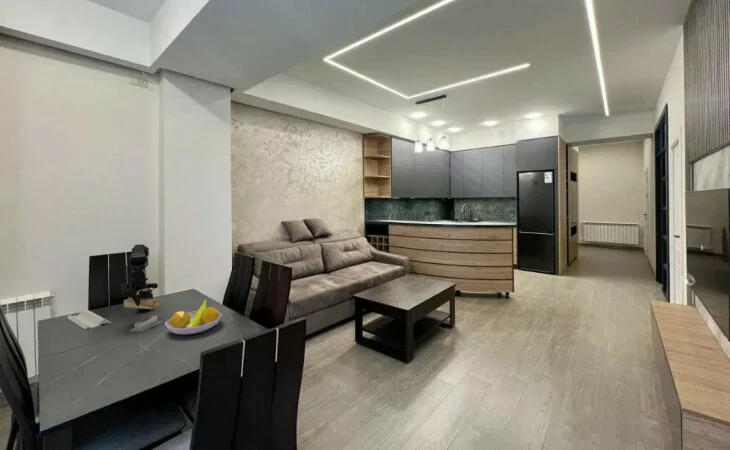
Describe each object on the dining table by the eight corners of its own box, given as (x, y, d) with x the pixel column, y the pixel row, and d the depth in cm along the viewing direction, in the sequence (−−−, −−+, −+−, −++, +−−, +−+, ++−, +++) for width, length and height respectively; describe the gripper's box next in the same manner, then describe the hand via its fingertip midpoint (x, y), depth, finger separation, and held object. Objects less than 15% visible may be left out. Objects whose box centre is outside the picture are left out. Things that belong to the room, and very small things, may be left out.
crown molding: (67, 319, 182) (66, 313, 181) (92, 313, 192) (92, 307, 191) (85, 330, 165) (84, 324, 165) (112, 323, 175) (112, 317, 175)
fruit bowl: (199, 342, 150) (198, 319, 149) (152, 337, 155) (151, 315, 154) (234, 320, 177) (233, 301, 176) (193, 317, 183) (192, 298, 182)
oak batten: (130, 305, 174) (130, 298, 173) (158, 306, 170) (157, 299, 170) (124, 307, 170) (123, 300, 169) (151, 308, 166) (151, 301, 166)
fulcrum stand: (149, 321, 176) (149, 314, 176) (162, 321, 175) (162, 315, 175) (129, 331, 162) (128, 324, 162) (143, 332, 161) (142, 324, 161)
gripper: (140, 273, 179) (141, 299, 180) (110, 281, 160) (112, 310, 161) (157, 273, 178) (159, 299, 179) (130, 281, 159) (131, 310, 160)
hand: (141, 304), depth 170 cm, fingers closed on oak batten, 4 cm apart
